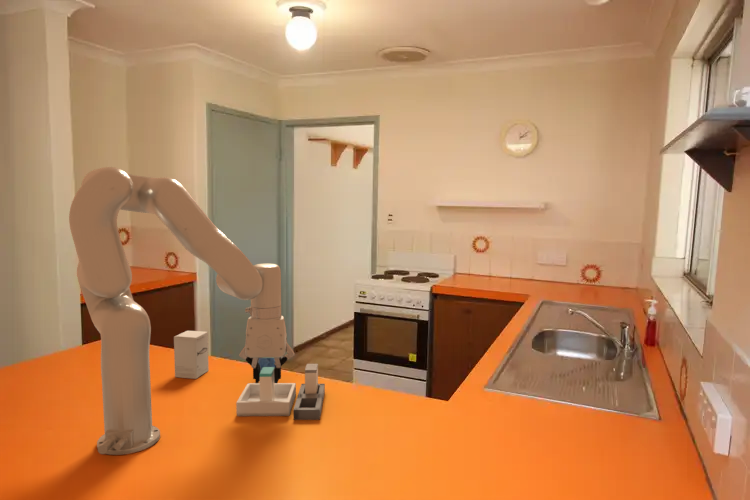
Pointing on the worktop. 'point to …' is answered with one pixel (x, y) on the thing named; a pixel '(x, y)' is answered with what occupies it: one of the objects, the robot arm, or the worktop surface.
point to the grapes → (266, 362)
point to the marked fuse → (267, 384)
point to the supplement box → (191, 354)
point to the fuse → (311, 379)
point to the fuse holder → (309, 404)
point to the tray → (254, 407)
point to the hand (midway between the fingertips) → (267, 380)
